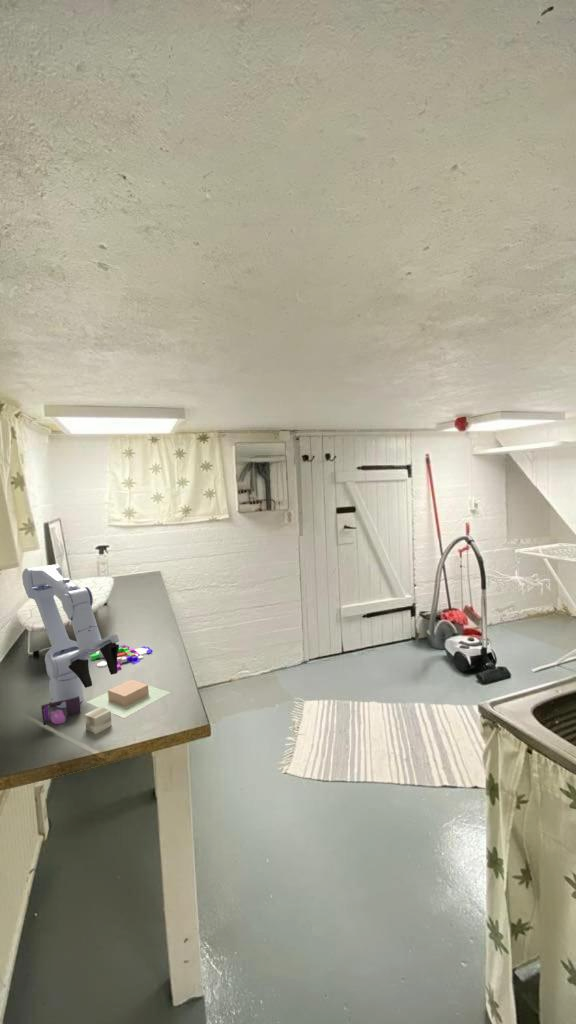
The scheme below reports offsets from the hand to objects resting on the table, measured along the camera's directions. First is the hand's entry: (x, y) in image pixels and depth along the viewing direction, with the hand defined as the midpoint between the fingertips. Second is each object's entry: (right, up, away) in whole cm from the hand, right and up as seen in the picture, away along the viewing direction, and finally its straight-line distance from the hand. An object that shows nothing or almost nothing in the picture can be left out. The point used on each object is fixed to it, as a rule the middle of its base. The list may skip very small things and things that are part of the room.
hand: (101, 680), depth 108 cm
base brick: (+1, -11, +15) cm, 19 cm away
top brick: (-1, -13, 0) cm, 13 cm away
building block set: (-15, -12, +51) cm, 55 cm away
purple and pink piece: (-13, -14, +5) cm, 19 cm away
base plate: (+1, -12, +15) cm, 20 cm away
